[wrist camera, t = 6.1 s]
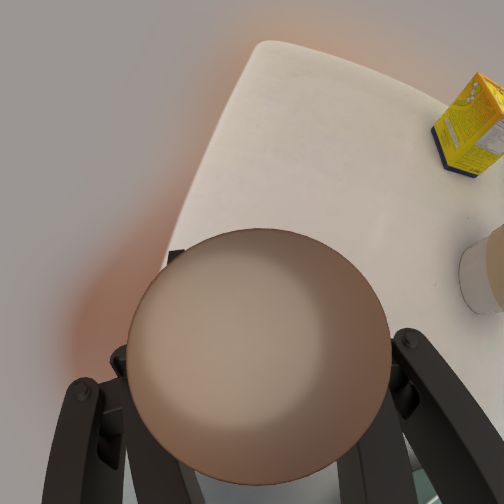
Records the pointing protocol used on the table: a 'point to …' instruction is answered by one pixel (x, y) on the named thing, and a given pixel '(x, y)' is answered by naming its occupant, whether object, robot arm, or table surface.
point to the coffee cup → (484, 274)
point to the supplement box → (472, 128)
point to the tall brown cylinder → (258, 356)
